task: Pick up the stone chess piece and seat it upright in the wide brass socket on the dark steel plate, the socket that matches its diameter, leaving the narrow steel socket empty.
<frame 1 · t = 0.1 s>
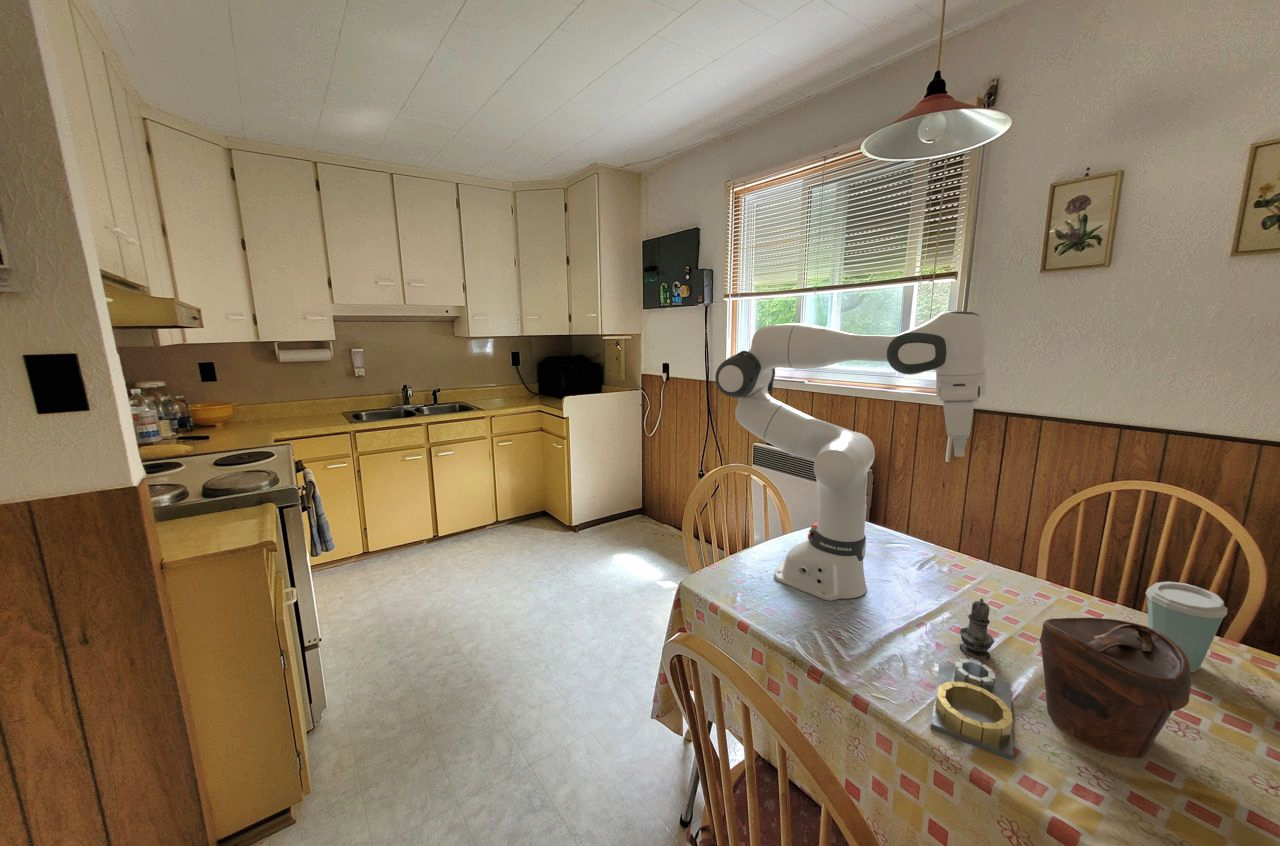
hand: (960, 451, 107), 39 cm above the table, tool pointing down, fingers open, 8 cm apart
socket plate: (971, 706, 87), on the table
case: (1096, 726, 83), on the table
stone chess piece: (974, 652, 101), on the table
disposable coffee cup: (1171, 662, 98), on the table
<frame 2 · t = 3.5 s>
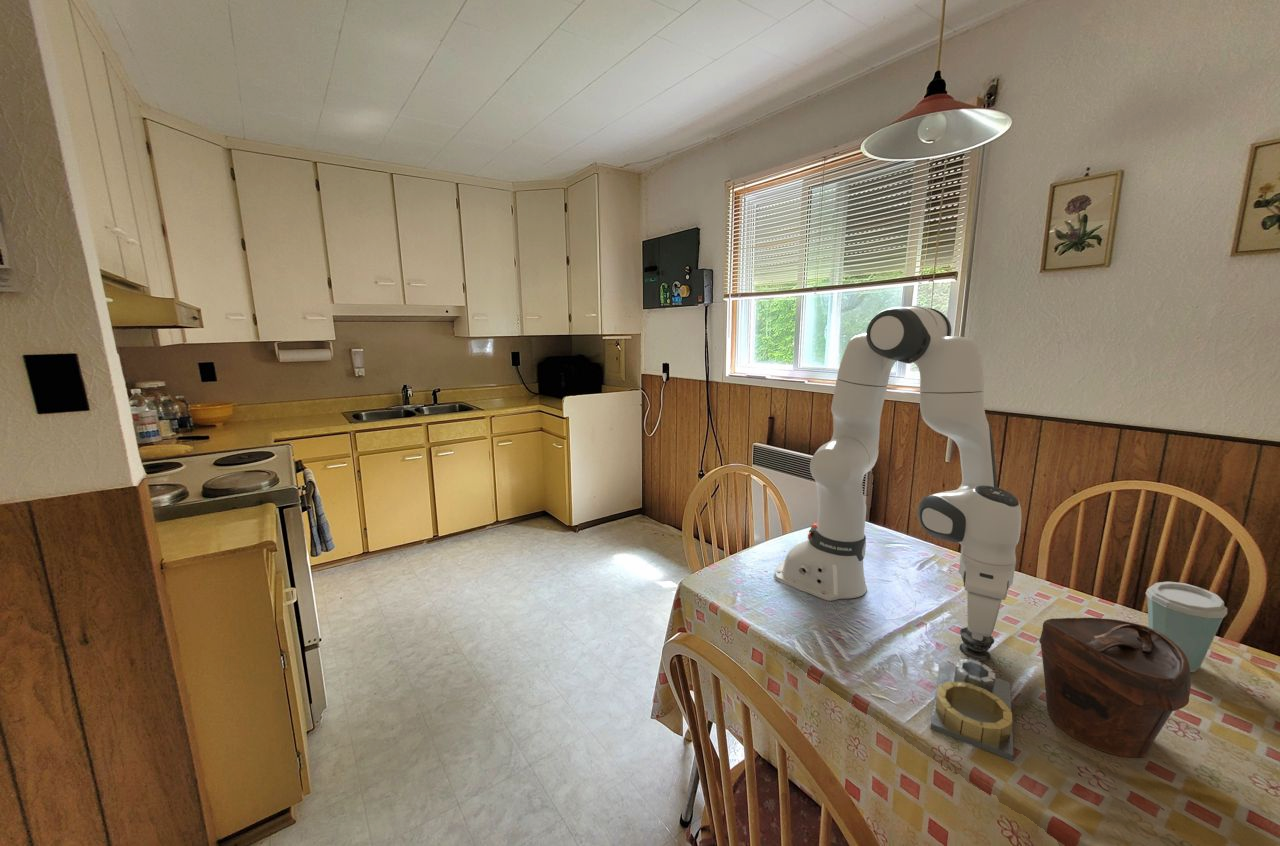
hand: (977, 631, 100), 5 cm above the table, tool pointing down, fingers closed on stone chess piece, 3 cm apart
stone chess piece: (974, 652, 101), on the table, touching gripper
everything else where it was.
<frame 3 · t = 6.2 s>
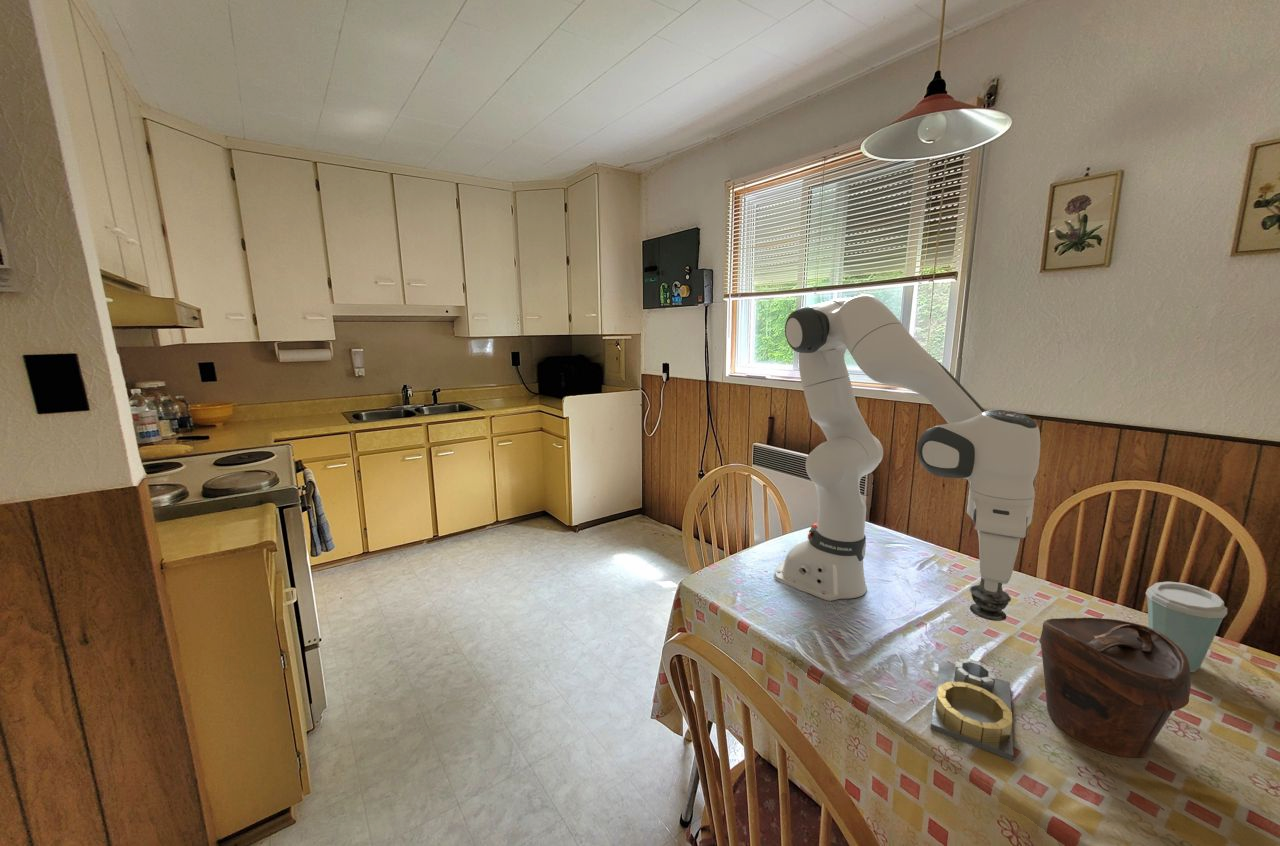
hand: (990, 583, 86), 22 cm above the table, tool pointing down, fingers closed on stone chess piece, 3 cm apart
stone chess piece: (987, 613, 87), point 16 cm above the table, touching gripper
everything else where it was.
when the fingers open (7 cm above the table, at t = 9.2 s): stone chess piece stays where it is, resting on socket plate.
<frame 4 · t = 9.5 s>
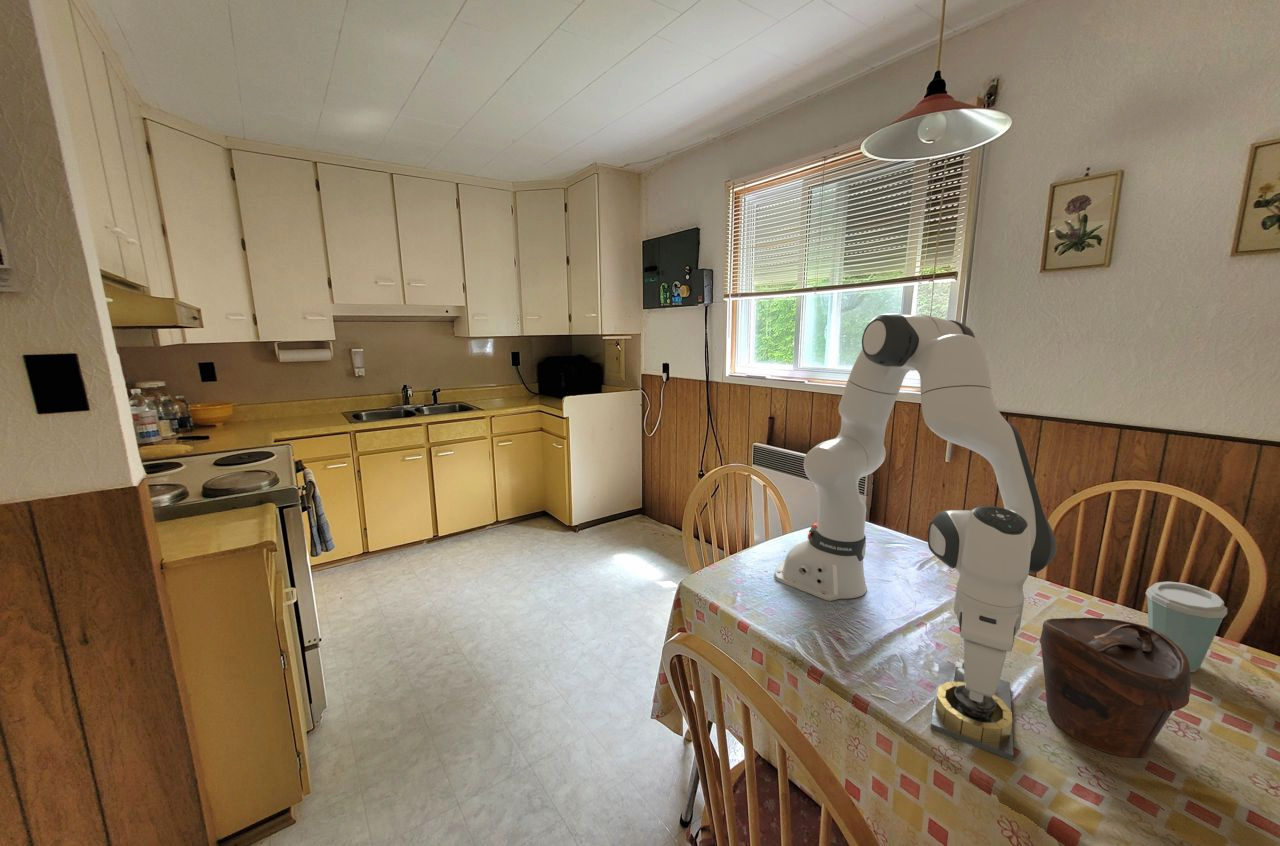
hand: (976, 683, 82), 7 cm above the table, tool pointing down, fingers open, 6 cm apart
stone chess piece: (972, 717, 84), point 1 cm above the table, touching socket plate
everything else where it was.
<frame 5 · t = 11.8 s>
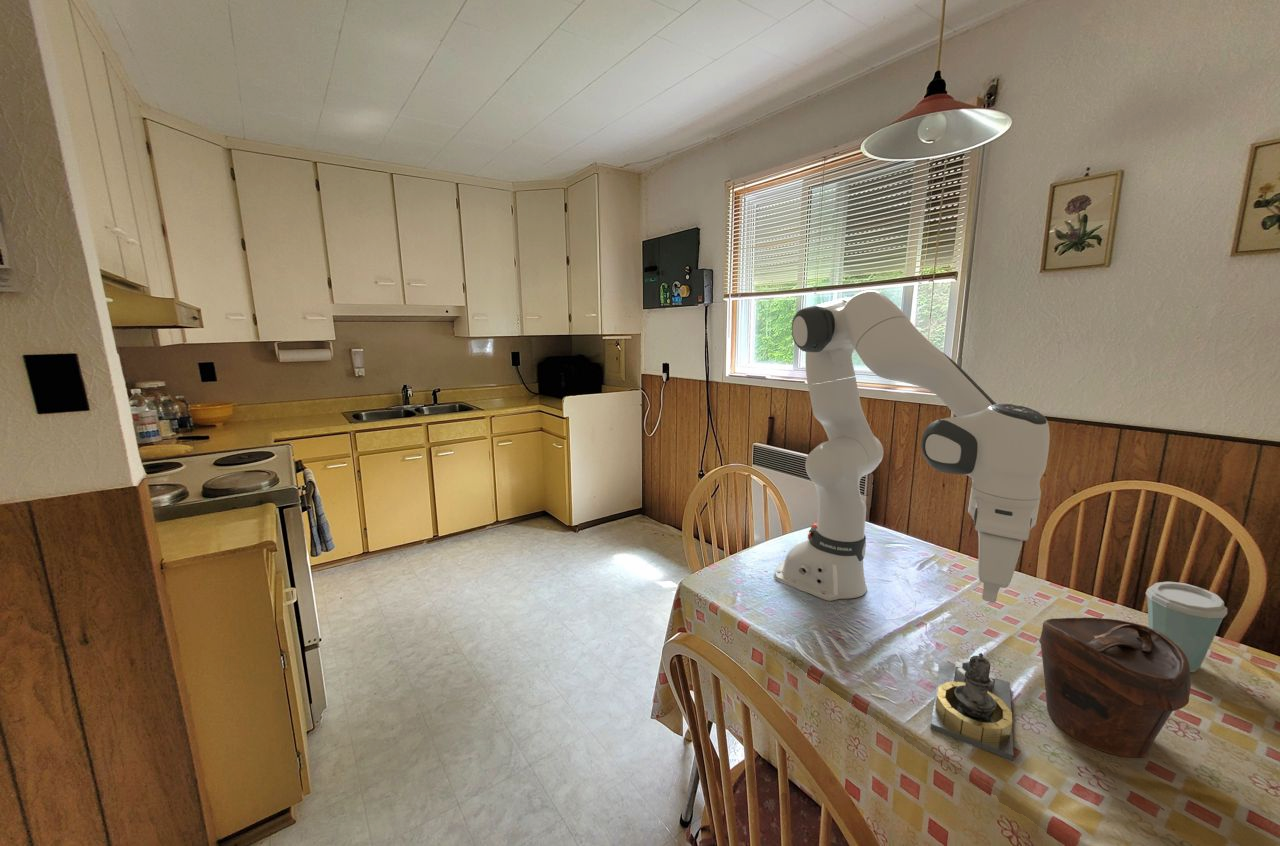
hand: (989, 586, 82), 23 cm above the table, tool pointing down, fingers open, 8 cm apart
nothing on the table moved.
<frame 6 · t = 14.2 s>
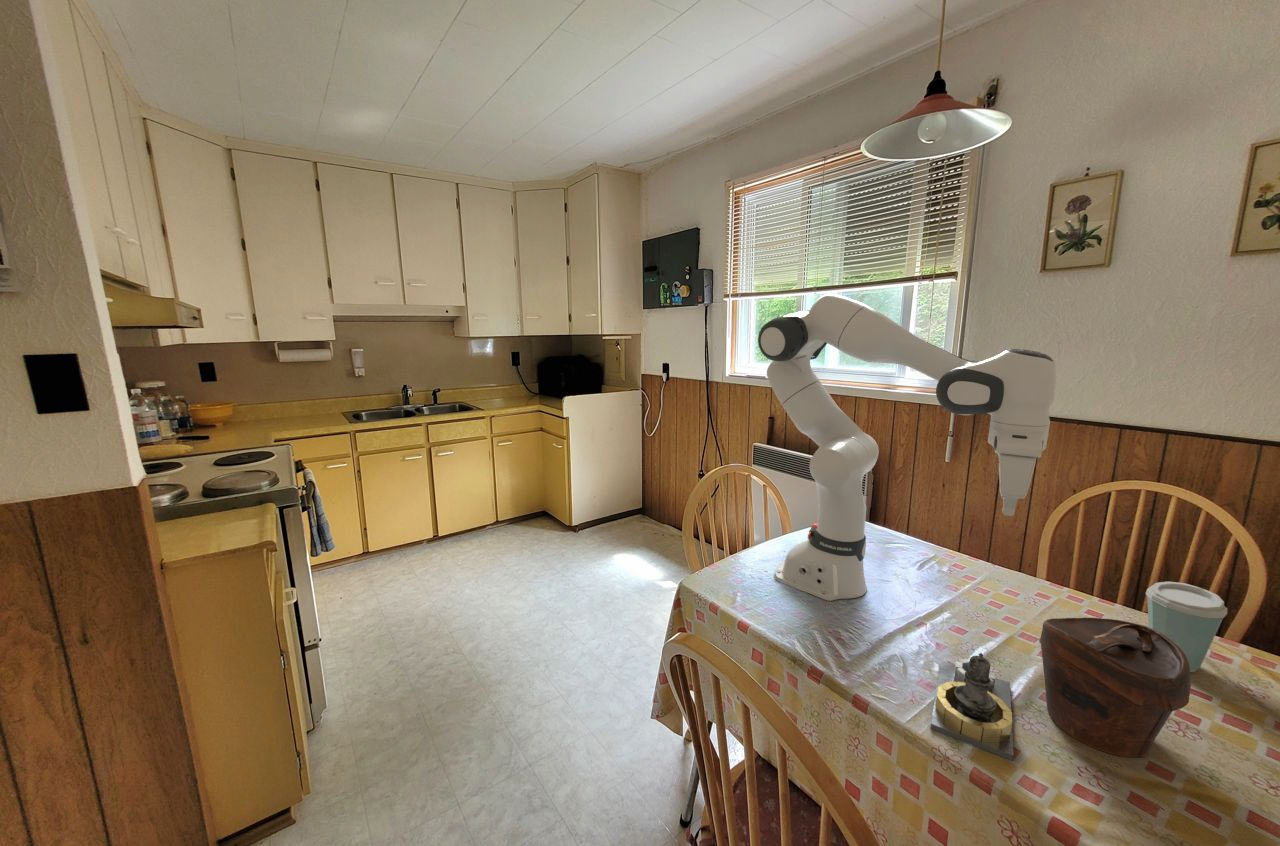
hand: (1007, 506, 96), 31 cm above the table, tool pointing down, fingers open, 8 cm apart
nothing on the table moved.
at the end: stone chess piece 0.2 cm from the target spot, point 0.8 cm above the table; stone chess piece tilted 0° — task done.
